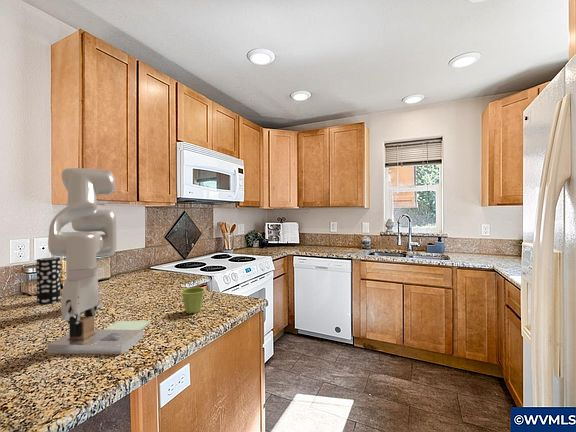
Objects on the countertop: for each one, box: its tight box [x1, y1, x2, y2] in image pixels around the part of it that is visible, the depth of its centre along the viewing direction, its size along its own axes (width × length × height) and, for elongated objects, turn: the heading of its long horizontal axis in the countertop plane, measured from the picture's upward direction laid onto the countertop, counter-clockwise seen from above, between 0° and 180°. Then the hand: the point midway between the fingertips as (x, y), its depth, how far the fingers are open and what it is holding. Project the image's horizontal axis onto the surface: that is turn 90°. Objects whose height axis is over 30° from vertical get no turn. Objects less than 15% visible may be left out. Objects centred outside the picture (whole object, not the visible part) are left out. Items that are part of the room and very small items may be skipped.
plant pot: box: [180, 287, 206, 314], centre depth 117 cm, size 9×9×9 cm
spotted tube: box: [36, 257, 61, 306], centre depth 131 cm, size 8×8×20 cm
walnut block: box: [68, 315, 95, 341], centre depth 87 cm, size 4×4×8 cm
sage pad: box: [103, 320, 151, 330], centre depth 100 cm, size 12×9×1 cm
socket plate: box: [47, 328, 144, 355], centre depth 87 cm, size 22×11×2 cm, turn 88°
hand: (82, 332), depth 87 cm, fingers closed on walnut block, 4 cm apart
